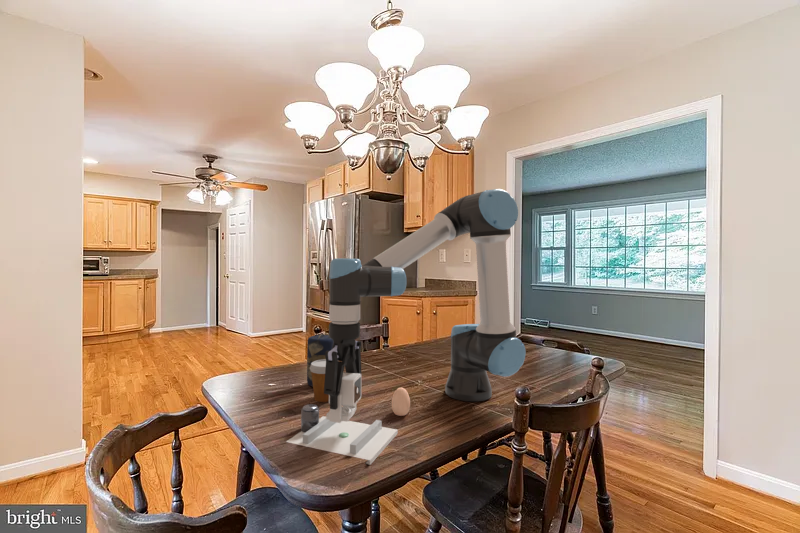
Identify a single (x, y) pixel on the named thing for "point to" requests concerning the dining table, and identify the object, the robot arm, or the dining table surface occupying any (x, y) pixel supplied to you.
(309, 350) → the canister
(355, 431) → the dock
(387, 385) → the dining table surface
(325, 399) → the disposable coffee cup
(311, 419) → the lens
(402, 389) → the egg
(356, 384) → the white rounded plastic box
